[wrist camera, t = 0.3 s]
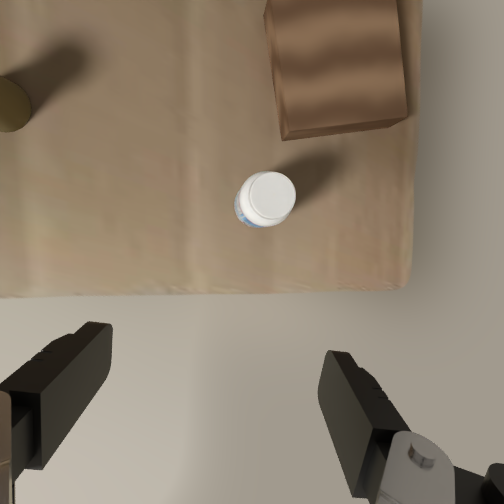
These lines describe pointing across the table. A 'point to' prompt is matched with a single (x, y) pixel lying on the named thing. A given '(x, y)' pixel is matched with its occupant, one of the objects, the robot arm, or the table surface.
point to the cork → (13, 106)
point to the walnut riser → (335, 66)
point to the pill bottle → (265, 199)
